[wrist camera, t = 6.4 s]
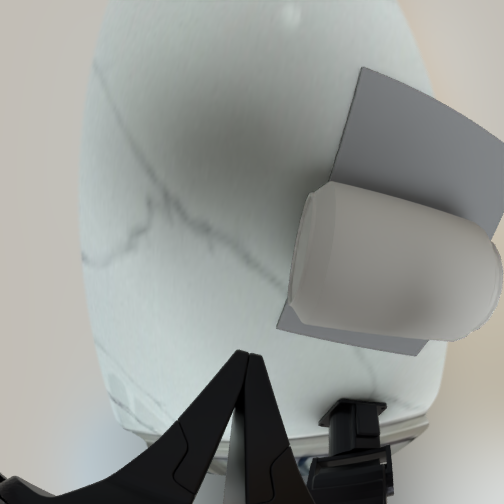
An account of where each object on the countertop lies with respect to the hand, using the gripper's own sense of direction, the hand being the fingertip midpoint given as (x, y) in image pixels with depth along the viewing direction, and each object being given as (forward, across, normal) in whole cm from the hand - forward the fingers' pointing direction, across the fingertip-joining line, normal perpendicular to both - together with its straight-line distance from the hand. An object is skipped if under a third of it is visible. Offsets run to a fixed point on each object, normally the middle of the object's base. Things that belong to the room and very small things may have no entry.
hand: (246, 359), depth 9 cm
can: (+7, -1, 0) cm, 7 cm away
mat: (+12, -10, -1) cm, 15 cm away
